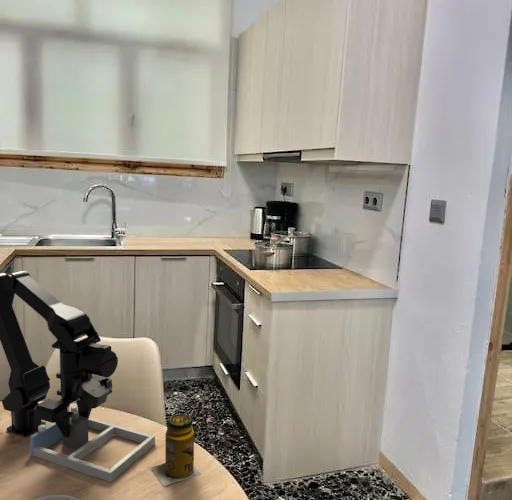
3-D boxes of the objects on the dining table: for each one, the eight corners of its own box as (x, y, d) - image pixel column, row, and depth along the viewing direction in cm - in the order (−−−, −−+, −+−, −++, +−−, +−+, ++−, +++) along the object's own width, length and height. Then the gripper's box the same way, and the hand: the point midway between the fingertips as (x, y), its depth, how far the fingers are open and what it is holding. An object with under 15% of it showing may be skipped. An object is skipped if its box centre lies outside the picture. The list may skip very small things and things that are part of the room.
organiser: (29, 454, 113) (28, 431, 112) (80, 422, 127) (80, 401, 127) (110, 481, 104) (110, 457, 103) (155, 443, 119) (155, 422, 118)
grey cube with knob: (62, 445, 117) (61, 415, 116) (75, 437, 121) (74, 408, 119) (76, 450, 115) (75, 419, 114) (88, 441, 119) (87, 411, 118)
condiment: (200, 474, 108) (201, 422, 106) (163, 487, 103) (164, 433, 101) (186, 457, 114) (186, 407, 112) (150, 468, 109) (150, 417, 107)
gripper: (71, 391, 103) (73, 461, 106) (128, 360, 120) (128, 421, 123) (30, 380, 108) (33, 448, 110) (91, 352, 124) (92, 411, 127)
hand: (75, 431), depth 117 cm, fingers open, 5 cm apart
